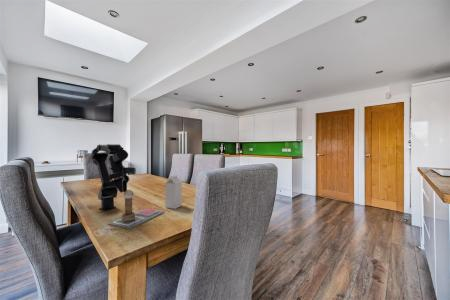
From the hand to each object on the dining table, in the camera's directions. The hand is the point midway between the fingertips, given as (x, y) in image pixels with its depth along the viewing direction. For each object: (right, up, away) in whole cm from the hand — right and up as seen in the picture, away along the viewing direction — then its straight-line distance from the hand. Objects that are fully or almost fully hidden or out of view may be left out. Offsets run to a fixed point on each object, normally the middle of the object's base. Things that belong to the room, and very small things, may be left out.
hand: (124, 192), depth 101 cm
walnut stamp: (+7, -12, -9) cm, 16 cm away
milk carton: (+23, -12, +15) cm, 30 cm away
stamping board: (+10, -12, -4) cm, 16 cm away
